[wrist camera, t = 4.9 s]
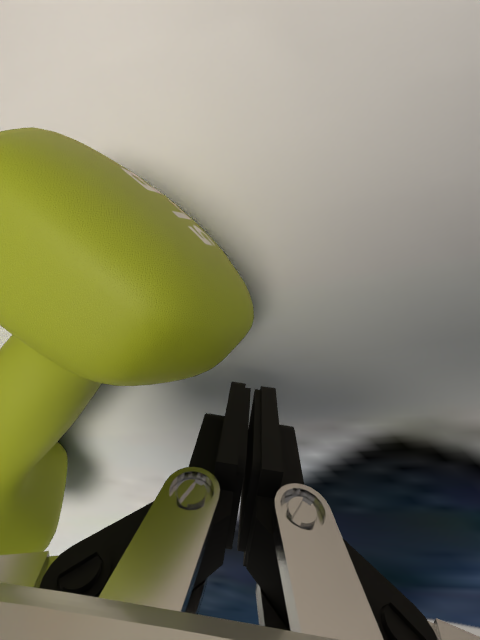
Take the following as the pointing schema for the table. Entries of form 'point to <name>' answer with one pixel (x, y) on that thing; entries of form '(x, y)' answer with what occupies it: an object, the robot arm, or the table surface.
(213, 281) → the dumbbell
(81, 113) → the table surface
